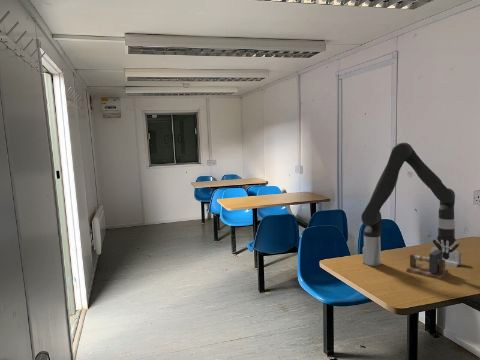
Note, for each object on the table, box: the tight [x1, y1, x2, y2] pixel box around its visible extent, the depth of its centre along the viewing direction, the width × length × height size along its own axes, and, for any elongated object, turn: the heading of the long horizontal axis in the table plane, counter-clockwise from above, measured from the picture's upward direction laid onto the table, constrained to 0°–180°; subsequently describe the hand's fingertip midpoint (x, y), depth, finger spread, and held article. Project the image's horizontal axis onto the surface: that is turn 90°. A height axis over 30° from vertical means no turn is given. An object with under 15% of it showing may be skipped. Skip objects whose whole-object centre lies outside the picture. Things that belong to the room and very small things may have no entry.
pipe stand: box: [406, 253, 449, 280], centre depth 187 cm, size 17×12×8 cm
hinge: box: [428, 246, 462, 268], centre depth 201 cm, size 17×5×10 cm, turn 35°
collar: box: [428, 250, 442, 274], centre depth 184 cm, size 3×10×10 cm, turn 131°
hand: (446, 259), depth 180 cm, fingers closed
